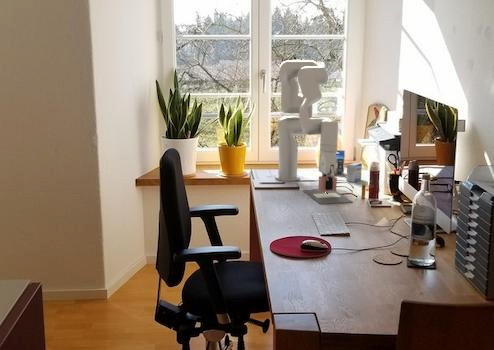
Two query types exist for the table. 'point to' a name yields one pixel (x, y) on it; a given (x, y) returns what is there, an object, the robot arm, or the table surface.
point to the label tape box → (340, 162)
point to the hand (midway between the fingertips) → (327, 187)
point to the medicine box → (354, 172)
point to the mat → (327, 197)
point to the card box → (323, 183)
